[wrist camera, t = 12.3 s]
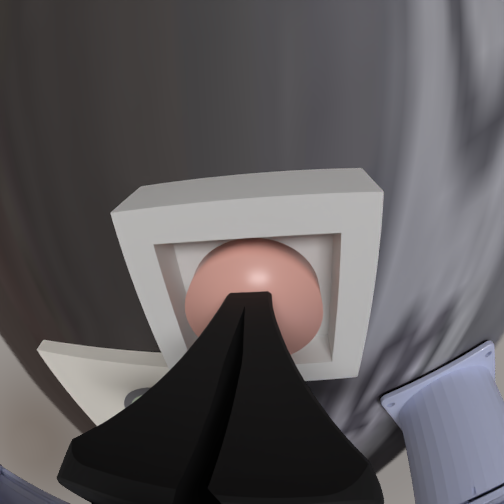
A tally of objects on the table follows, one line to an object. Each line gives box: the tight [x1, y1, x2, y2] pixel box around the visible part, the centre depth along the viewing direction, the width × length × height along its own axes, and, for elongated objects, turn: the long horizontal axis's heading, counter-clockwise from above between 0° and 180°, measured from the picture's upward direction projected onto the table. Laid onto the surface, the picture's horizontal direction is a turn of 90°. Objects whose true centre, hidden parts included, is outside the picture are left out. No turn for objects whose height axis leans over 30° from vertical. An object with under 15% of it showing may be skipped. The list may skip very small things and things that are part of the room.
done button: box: [185, 238, 323, 355], centre depth 11 cm, size 5×5×1 cm
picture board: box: [37, 340, 169, 426], centre depth 20 cm, size 20×16×1 cm
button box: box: [111, 168, 384, 381], centre depth 11 cm, size 8×8×2 cm
